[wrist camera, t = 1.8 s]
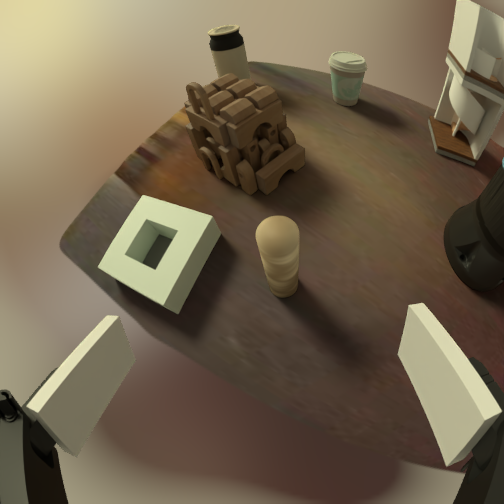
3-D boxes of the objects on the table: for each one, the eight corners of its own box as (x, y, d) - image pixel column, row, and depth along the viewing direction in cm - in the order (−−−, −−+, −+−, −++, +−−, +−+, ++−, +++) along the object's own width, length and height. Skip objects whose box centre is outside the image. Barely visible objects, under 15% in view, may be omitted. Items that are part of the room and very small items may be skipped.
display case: (427, 121, 48) (457, -6, 17) (463, 134, 46) (502, 17, 15) (435, 152, 44) (479, 6, 13) (474, 166, 41) (529, 36, 10)
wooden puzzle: (312, 159, 47) (312, 69, 30) (253, 207, 44) (230, 113, 27) (235, 116, 56) (217, 45, 39) (182, 151, 53) (150, 79, 36)
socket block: (221, 233, 42) (212, 216, 38) (178, 314, 38) (163, 305, 33) (155, 211, 47) (143, 194, 42) (114, 278, 42) (97, 267, 37)
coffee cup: (329, 108, 53) (330, 63, 42) (326, 90, 57) (326, 49, 46) (365, 111, 52) (371, 67, 41) (359, 92, 55) (363, 52, 44)
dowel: (296, 269, 38) (297, 214, 26) (298, 296, 36) (301, 252, 24) (268, 271, 39) (255, 217, 26) (269, 298, 37) (255, 255, 24)
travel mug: (256, 81, 62) (246, 23, 46) (243, 95, 59) (229, 33, 43) (231, 79, 64) (217, 25, 48) (216, 93, 62) (199, 35, 46)
